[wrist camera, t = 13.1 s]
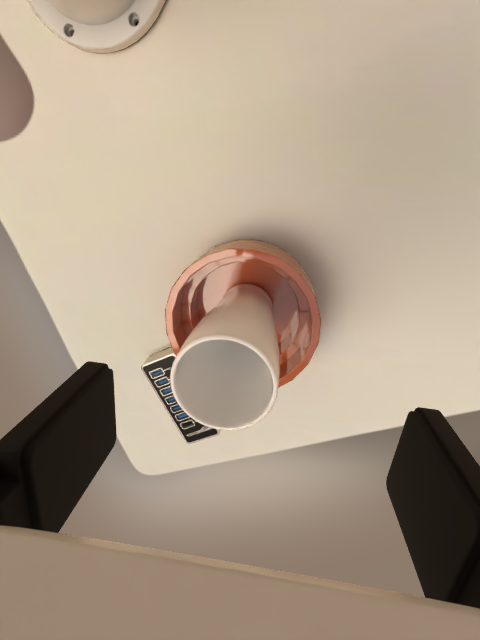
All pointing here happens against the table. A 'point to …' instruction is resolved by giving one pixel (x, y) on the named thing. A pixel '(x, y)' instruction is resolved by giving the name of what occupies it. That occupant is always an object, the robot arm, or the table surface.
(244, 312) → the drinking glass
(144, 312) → the table surface
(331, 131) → the table surface
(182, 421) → the multiport hub
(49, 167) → the table surface
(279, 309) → the bowl
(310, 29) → the table surface
